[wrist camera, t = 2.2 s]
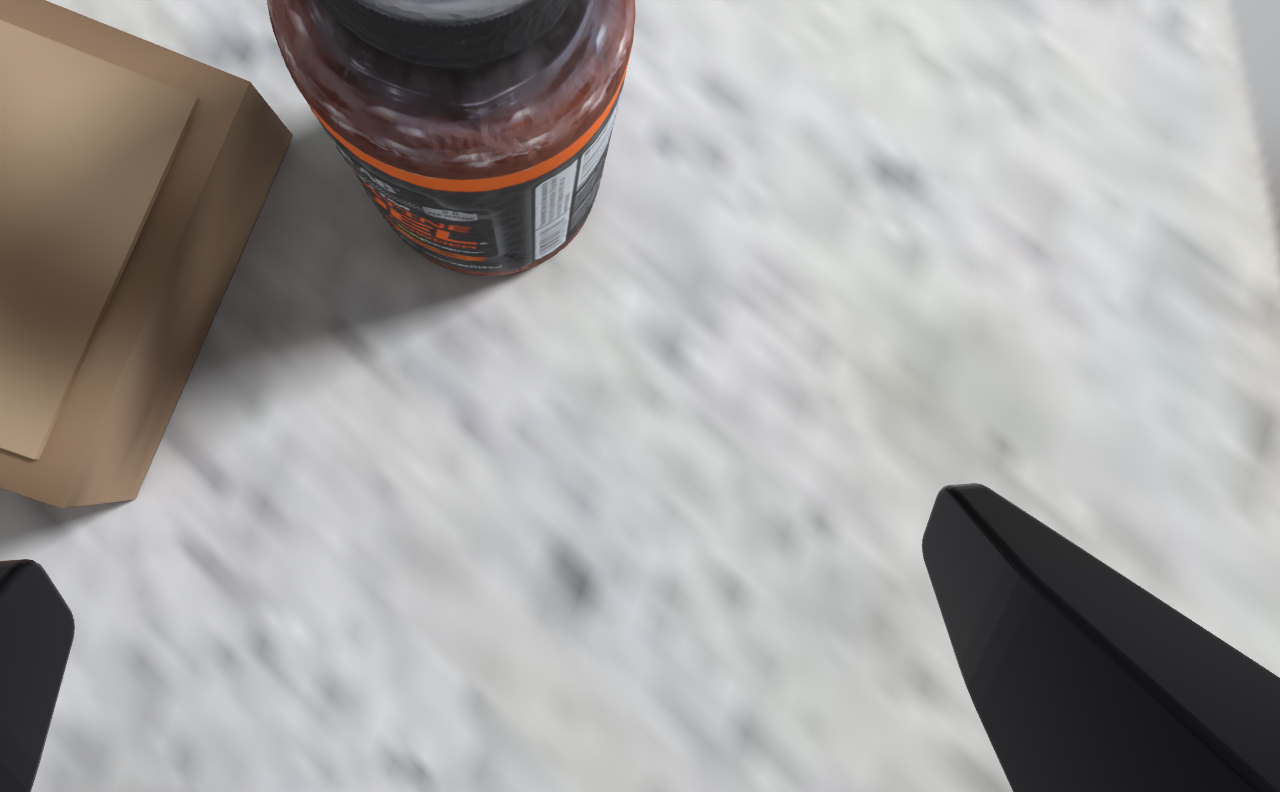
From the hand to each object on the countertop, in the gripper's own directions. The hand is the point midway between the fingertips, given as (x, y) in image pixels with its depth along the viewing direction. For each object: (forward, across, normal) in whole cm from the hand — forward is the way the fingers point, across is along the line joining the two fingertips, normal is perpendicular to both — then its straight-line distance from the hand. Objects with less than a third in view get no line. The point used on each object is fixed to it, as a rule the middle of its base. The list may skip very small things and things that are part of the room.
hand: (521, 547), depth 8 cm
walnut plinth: (+14, +12, +3) cm, 19 cm away
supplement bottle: (+15, +1, +2) cm, 15 cm away
